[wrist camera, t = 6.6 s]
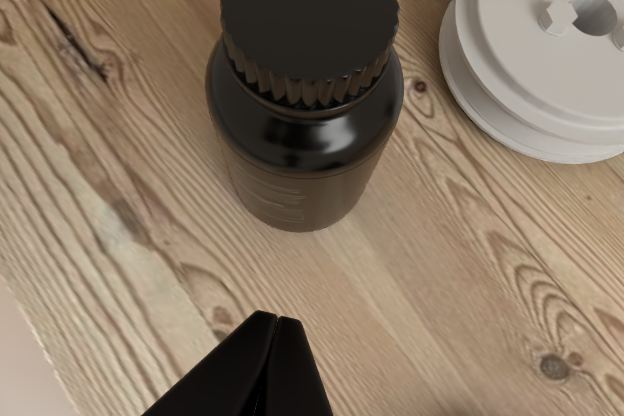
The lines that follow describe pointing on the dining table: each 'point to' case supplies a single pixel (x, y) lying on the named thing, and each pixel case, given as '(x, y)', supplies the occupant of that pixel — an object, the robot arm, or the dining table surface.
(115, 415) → the dining table surface
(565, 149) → the lid
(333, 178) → the supplement bottle
